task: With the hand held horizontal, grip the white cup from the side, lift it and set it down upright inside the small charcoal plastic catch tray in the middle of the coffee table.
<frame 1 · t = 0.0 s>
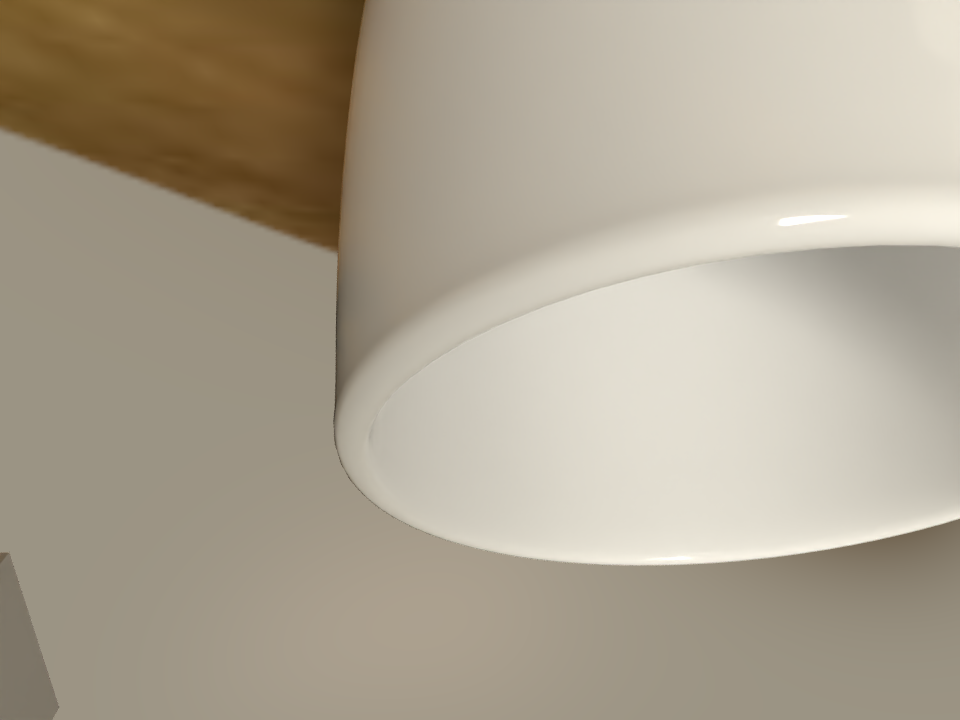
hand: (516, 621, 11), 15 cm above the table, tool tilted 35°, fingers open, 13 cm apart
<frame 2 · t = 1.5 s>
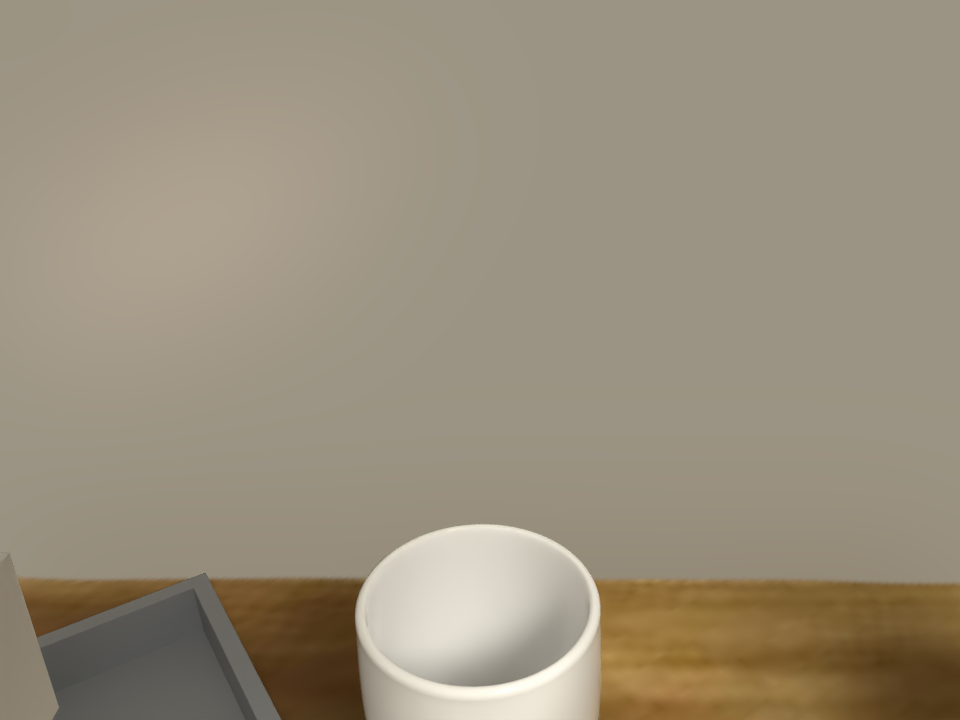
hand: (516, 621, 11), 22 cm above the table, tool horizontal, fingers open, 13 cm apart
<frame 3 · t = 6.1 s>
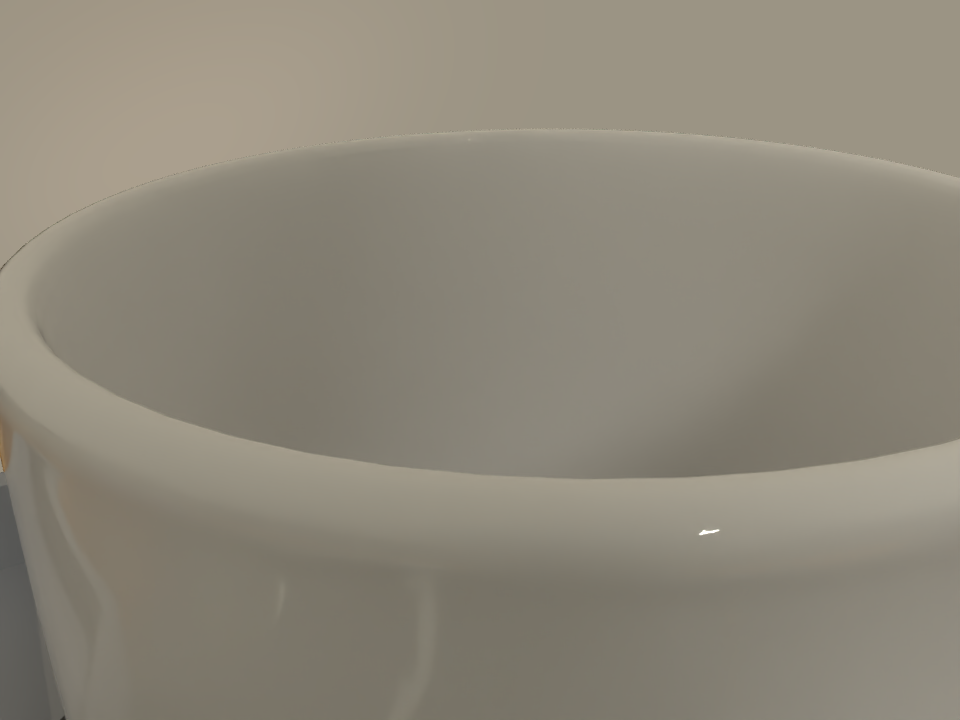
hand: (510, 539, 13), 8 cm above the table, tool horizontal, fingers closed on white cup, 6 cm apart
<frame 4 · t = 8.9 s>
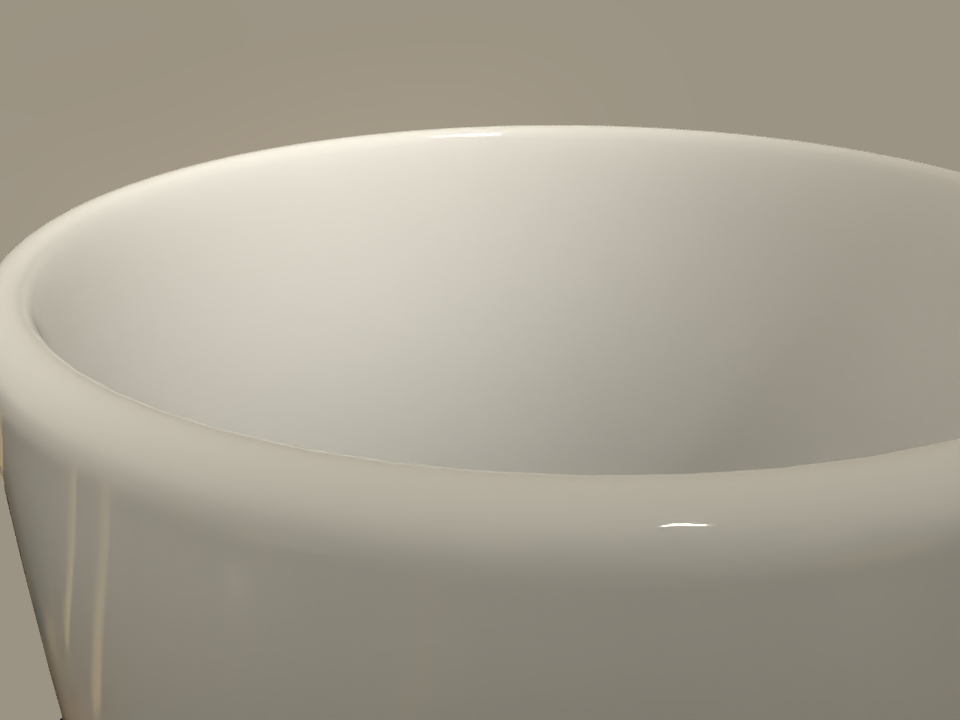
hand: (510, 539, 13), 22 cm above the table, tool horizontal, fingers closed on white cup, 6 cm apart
when the fingers open (11 cm above the table, at t = 11.8 s): white cup drops 1 cm, resting on catch tray.
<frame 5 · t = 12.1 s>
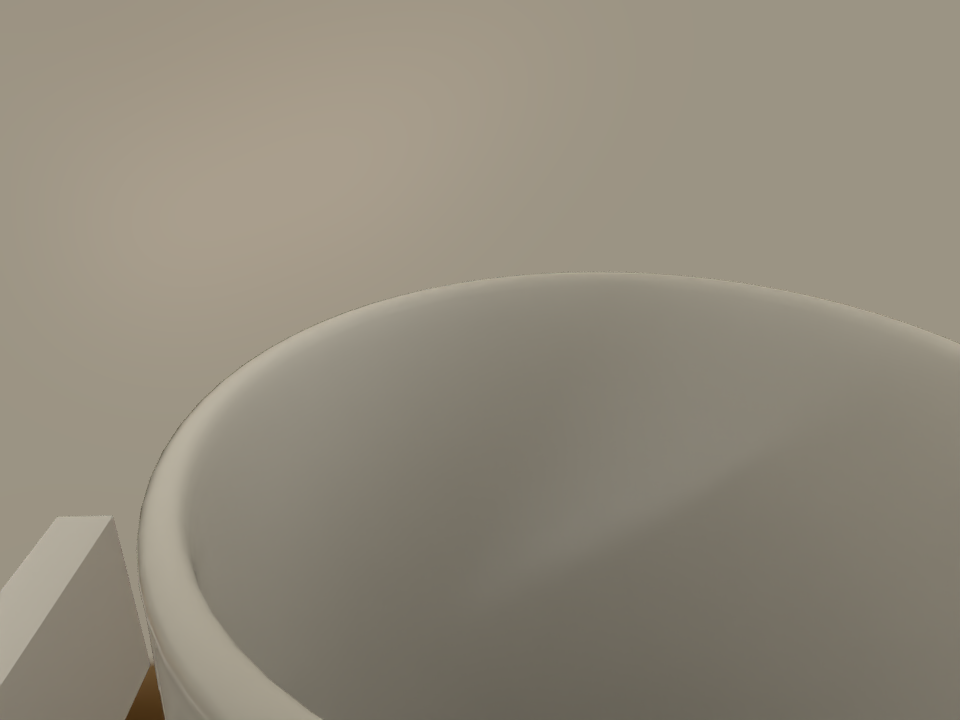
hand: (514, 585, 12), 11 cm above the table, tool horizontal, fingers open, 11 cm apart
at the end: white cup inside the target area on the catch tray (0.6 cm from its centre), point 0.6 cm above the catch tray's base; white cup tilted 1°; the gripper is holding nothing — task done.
